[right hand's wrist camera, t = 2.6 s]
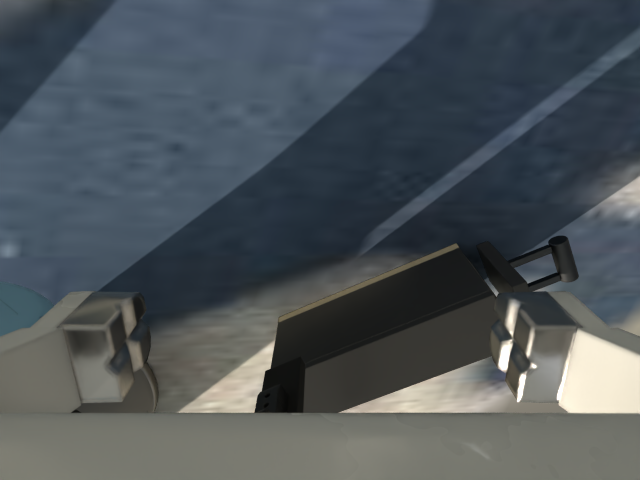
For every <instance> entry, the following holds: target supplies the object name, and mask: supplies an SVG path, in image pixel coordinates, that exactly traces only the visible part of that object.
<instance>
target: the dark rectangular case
mask: <svg viewBox="0 0 640 480" xmlns="http://www.w3.org/2000/svg"><path fill="white" fill-rule="evenodd" d="M495 300H496V298H495V295H494V294H493V292H492V291H491V290H490V288H489V287H488V286H487V284H486V283H485V282H484V280H483V279H482V278H481V276H480V275H479V274H478V272H477V271H476V270H475V268H474V267H473V266H472V264H471V263H470V262H469V260H468V259H467V258H466V256H465V255H464V254H463V252H462V251H461V250H460V248H459V246H458V245H457V244H453V245H451V246H449V247H446V248H444V249H441V250H439V251H437V252H434V253H432V254H429V255H427V256H425V257H422V258H420V259H417V260H415V261H413V262H410V263H408V264H405V265H403V266H401V267H398V268H396V269H393V270H391V271H389V272H386V273H384V274H382V275H379V276H377V277H374V278H372V279H370V280H367V281H365V282H362V283H360V284H358V285H355V286H353V287H350V288H348V289H346V290H343V291H341V292H338V293H336V294H334V295H331V296H329V297H326V298H324V299H322V300H319V301H317V302H315V303H312V304H310V305H307V306H305V307H303V308H300V309H298V310H295V311H293V312H291V313H288V314H286V315H283V316H281V317H279V319H278V328H277V334H276V340H275V346H274V351H273V357H272V363H271V369H272V368H274V367H276V366H279V365H281V364H284V363H286V362H288V361H291V360H293V359H296V358H298V357H301V358H302V360H303V361H304V363H305V365H306V366H305V387H304V409H303V413H338V412H341V411H344V410H346V409H349V408H352V407H355V406H357V405H360V404H363V403H365V402H368V401H371V400H374V399H376V398H379V397H382V396H384V395H387V394H390V393H393V392H395V391H398V390H401V389H403V388H406V387H409V386H412V385H414V384H417V383H420V382H422V381H425V380H428V379H431V378H433V377H436V376H439V375H441V374H444V373H447V372H450V371H452V370H455V369H458V368H460V367H463V366H466V365H468V364H471V363H474V362H477V361H479V360H482V359H485V358H487V357H490V356H492V355H491V352H490V343H489V337H490V329H491V326H492V325H493V324H494V323H495V322H496V321H497V320H498V319H499V318H498V316H497V315H496V313H495V312H494V305H495Z"/></svg>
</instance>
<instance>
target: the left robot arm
mask: <svg viewBox="0 0 640 480" xmlns="http://www.w3.org/2000/svg"><path fill="white" fill-rule="evenodd" d="M53 307H54V305H53V304H52V303H51V302H50V301H49V300H48V299H47V298H45V297H44V296H42V295H40V294H39V293H37V292H35V291H33V290H30V289H28V288H25V287H22V286H19V285H15V284H11V283H6V282H0V336H3V335H5V334H8V333H10V332H13V331H16V330H18V329H21V328H30V327H31V326H32V325H34V324H35V323H36V322H37V321H38V320H39V319H40V318H41V317H43V316H44V315H45V314H46V313H47V312H48V311H49V310H51V309H52V308H53ZM305 366H306V365H305V363H304V361H303V360H302V358H301V357H298V358H296V359H293V360H291V361H288V362H286V363H284V364H281V365H279V366H276V367H274V368H272V369H269V370H267V371H265V376H264V382H263V388H262V392H260V393H259V395H258V397H257V403H256V408H255V413H303V409H304V387H305ZM134 378H135V382H134V383H133V385H132V387H131V388H130V390H129V392H128V393H127V395H126V397H125V398H124V400H123V402H103V403H81V406H79V407H78V408H77V409H75V410H74V411H72V412H71V413H154V411H155V408H156V405H157V401H158V388H157V383H156V379H155V377H154V375H153V373H152V371H151V369H150V367H149V366H148V364H147V363H145V364H144V366H143V368H141V369H139V370H138V371H136V372H135V373H134Z"/></svg>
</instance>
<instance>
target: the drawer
mask: <svg viewBox="0 0 640 480" xmlns="http://www.w3.org/2000/svg"><path fill="white" fill-rule="evenodd" d="M548 243H549V245H546V246H543V247H541V248H539V249H536V250H534V251H531V252H529V253H526V254H524V255H521V256H519V257H516V258H514V259H511V260H509V261H506V259H505V258H504V257H503V256H502V255H501V254H500V253H499V252H498V251H497V250H496V249H495V248H494V247H493V246H492V245H491V244H490V242H489V241H486V242H484V243H481V244H479V245H477V249H478V251H479V254H480V257H481V259H482V262H483V265H484V267H485V270H486V273H487V275H488V278H489V281H490V282H491V283H492V285H493V286H494V287H495V288H496V290H497V291H498V292H499V293H503V292H533V291H535V290H538V289H540V288H543V287H545V286H548V285H551V284H553V283H556V282H558V281H562V282H572V281H575V280H576V279H578V277H579V275H578V271H577V268H576V265H575V261H574V258H573V254H572V251H571V247H570V244H569V240H568V238H567V237H566V236H556V237H553V238H551V239H550V240H549V242H548ZM550 253H552V256H553V259H554V263H555V266H556V269H557V272H558V273H554V274H551V275H549V276H546V277H544V278H541V279H539V280H536V281H533V282H531V283H528V284H527V282H526V281H525V280H524V279H523V278H522V276H521V275H520V274H519V273H518V272H517V271H516V270H515V269H514V268H515V267H518V266H520V265H523V264H525V263H528V262H530V261H533V260H535V259H538V258H540V257H543V256H545V255H548V254H550ZM467 259H468V258H467ZM469 262H470V261H469ZM470 263H471V262H470ZM472 266H473V265H472ZM473 267H474V266H473ZM475 270H476V269H475ZM476 271H477V270H476ZM478 274H479V273H478ZM479 275H480V274H479ZM481 278H482V277H481ZM482 279H483V278H482ZM484 282H485V281H484ZM485 283H486V282H485ZM487 286H488V285H487ZM488 287H489V286H488ZM490 290H491V289H490ZM491 291H492V290H491ZM493 294H494V293H493ZM494 295H495V294H494ZM495 298H497V297H496V296H495Z"/></svg>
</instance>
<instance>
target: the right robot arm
mask: <svg viewBox="0 0 640 480" xmlns="http://www.w3.org/2000/svg"><path fill="white" fill-rule="evenodd" d="M145 312H146V306H145V301H144V297H143V296H142V294H141V293H140V292H95V291H83V292H70V293H69V294H68V295H66V296H65V297H64V298H63V299H62V300H61V301H60V302H58V303H57V304H56V305H55V306H54V307H53V308H52V309H51V310H49V311H48V312H47V313H46V314H45V315H44V316H43V317H41V318H40V319H39V320H38V321H37V322H36V323H35V324H34V325H32V326H31V327H30V328H21V329H18V330H16V331H13V332H10V333H8V334H5V335H3V336H0V480H640V336H637V335H635V334H632V333H630V332H627V331H624V330H622V329H619V328H610V327H609V326H608V325H607V324H605V323H604V322H603V321H602V320H601V319H600V318H599V317H597V316H596V315H595V314H594V313H593V312H592V311H591V310H590V309H588V308H587V307H586V306H585V305H584V304H583V303H582V302H581V301H579V300H578V299H577V298H576V297H575V296H574V295H573V294H571V293H570V292H566V291H555V292H546V291H544V292H503V293H499V294H498V295H497V298H496V300H495V305H494V312H495V313H496V315H497V316H498V318H499V319H498V320H497V321H496V322H495V323H494V324H493V325H492V326H491V329H490V337H489V343H490V352H491V355H492V359H493V361H494V363H495V365H496V366H497V368H499V369H501V370H502V371H504V372H505V373H506V378H505V382H506V383H507V385H508V387H509V388H510V390H511V391H512V393H513V395H514V396H515V398H516V400H517V401H518V402H536V403H559V405H560V406H561V407H562V408H564V409H565V410H566V411H568V412H569V413H71V412H72V411H74V410H75V409H77V408H78V407H79V406H81V403H103V402H123V400H124V398H125V397H126V395H127V393H128V392H129V390H130V388H131V387H132V385H133V383H134V382H135V378H134V373H135V372H136V371H138V370H139V369H141V368H143V366H144V364H145V363H146V361H147V359H148V355H149V351H150V347H151V336H150V329H149V326H148V325H147V324H146V323H145V322H144V321H143V320H142V319H141V318H142V316H143V315H144V313H145Z"/></svg>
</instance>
